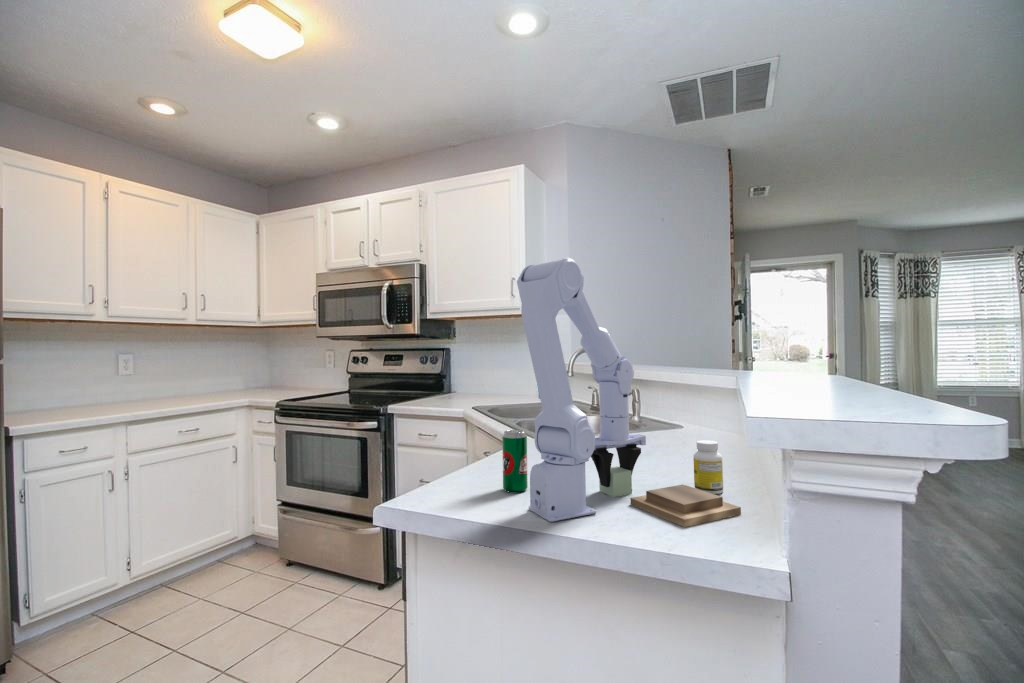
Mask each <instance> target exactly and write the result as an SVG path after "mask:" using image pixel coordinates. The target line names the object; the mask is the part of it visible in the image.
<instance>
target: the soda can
mask: <svg viewBox="0 0 1024 683" xmlns="http://www.w3.org/2000/svg"><path fill="white" fill-rule="evenodd" d="M503 432H504V434H503V435H502V488H503V490H504V491H505V490H506V491H505V492H507V491H509V492H508V493H510V492H520V493H523V492H525V491H526V490H527V489H528V488H529V487H528V486H529V485H528V436H527V434H526V431H525V430H522V429H521V430H520V429H510V430H509V429H508V430H504V431H503ZM522 491H523V492H522Z"/></svg>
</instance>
